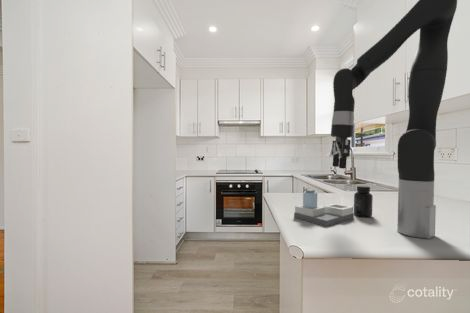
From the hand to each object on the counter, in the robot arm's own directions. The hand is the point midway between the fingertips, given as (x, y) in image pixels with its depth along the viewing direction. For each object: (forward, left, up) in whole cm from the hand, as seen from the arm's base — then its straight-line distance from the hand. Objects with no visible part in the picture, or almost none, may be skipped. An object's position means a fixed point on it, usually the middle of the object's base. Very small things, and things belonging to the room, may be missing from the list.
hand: (338, 167), depth 94 cm
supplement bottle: (-2, -16, -20) cm, 26 cm away
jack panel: (+5, +1, -20) cm, 21 cm away
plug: (+8, +6, -18) cm, 21 cm away
